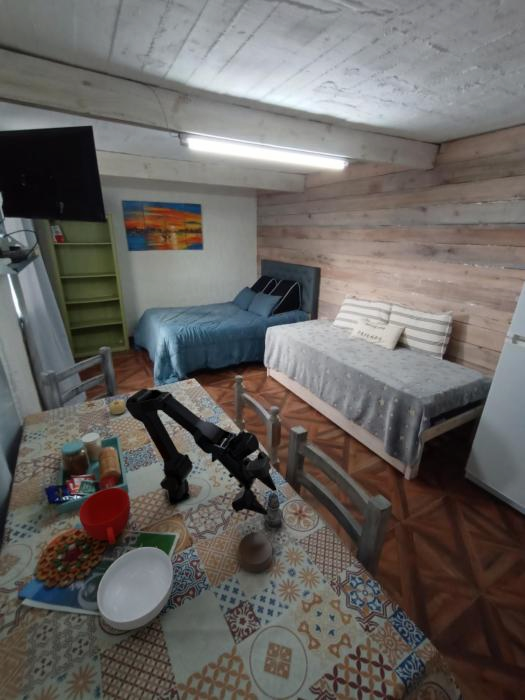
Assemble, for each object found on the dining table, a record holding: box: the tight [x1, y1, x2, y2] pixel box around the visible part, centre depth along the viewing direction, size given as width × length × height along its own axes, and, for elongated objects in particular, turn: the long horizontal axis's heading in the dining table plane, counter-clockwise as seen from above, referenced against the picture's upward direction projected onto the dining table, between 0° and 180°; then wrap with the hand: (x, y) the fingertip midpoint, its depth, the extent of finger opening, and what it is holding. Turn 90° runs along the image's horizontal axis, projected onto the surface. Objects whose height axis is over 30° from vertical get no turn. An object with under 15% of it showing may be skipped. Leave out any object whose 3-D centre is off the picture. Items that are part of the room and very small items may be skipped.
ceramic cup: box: [78, 487, 131, 545], centre depth 90 cm, size 13×17×10 cm
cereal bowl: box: [96, 546, 175, 631], centre depth 75 cm, size 17×17×7 cm
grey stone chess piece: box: [263, 492, 284, 532], centre depth 94 cm, size 6×6×12 cm
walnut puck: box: [238, 532, 273, 574], centre depth 86 cm, size 9×9×4 cm
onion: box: [108, 398, 127, 415], centre depth 152 cm, size 8×8×7 cm
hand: (271, 501), depth 93 cm, fingers open, 9 cm apart
